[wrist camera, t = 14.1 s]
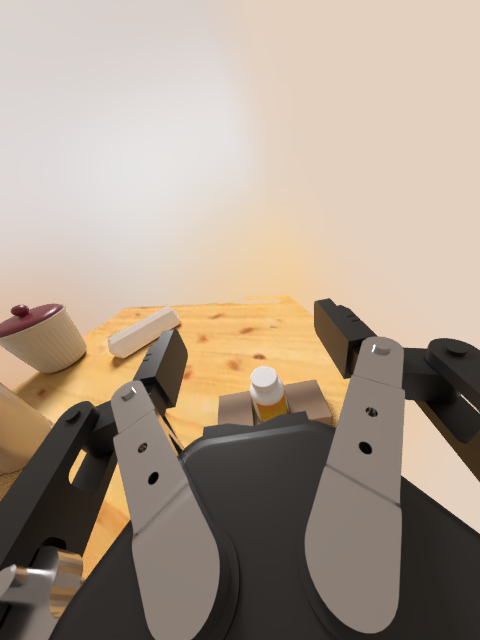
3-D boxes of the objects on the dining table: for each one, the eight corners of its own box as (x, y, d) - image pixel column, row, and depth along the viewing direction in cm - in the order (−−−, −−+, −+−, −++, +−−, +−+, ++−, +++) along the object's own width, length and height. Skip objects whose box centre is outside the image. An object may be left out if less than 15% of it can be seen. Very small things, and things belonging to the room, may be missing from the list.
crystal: (169, 307, 75) (103, 343, 62) (173, 302, 69) (101, 341, 56) (180, 323, 76) (117, 362, 63) (185, 320, 70) (117, 362, 57)
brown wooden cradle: (331, 426, 31) (332, 416, 30) (222, 443, 33) (217, 434, 31) (316, 390, 37) (315, 379, 36) (223, 405, 39) (219, 396, 37)
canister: (74, 376, 58) (15, 316, 47) (18, 387, 59) (-52, 331, 48) (106, 338, 73) (68, 286, 62) (61, 348, 74) (16, 298, 63)
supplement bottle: (294, 414, 34) (290, 375, 28) (271, 435, 32) (261, 398, 26) (273, 394, 38) (265, 357, 32) (251, 412, 36) (239, 375, 30)
